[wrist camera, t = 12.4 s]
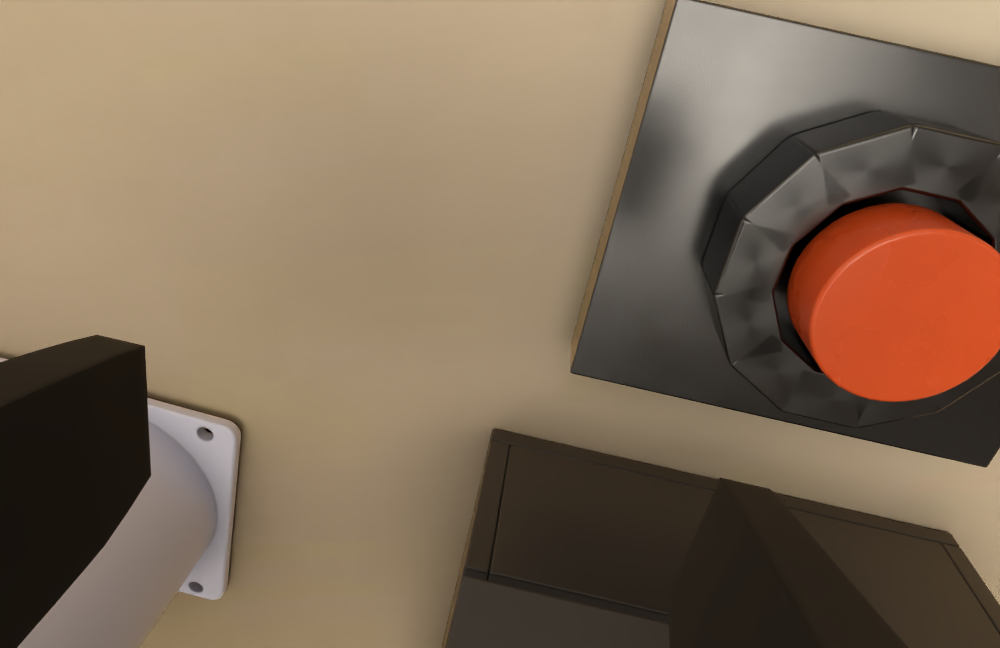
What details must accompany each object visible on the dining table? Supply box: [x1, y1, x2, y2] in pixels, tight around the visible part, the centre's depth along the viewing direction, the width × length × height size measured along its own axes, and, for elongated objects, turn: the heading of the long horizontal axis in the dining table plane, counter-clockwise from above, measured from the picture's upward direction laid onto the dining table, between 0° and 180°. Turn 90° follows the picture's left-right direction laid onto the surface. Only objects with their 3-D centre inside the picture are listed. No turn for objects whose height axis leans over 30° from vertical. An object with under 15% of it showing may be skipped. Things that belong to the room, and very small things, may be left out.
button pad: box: [570, 0, 1000, 467], centre depth 15 cm, size 9×11×4 cm
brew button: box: [787, 203, 1000, 402], centre depth 13 cm, size 4×4×2 cm
